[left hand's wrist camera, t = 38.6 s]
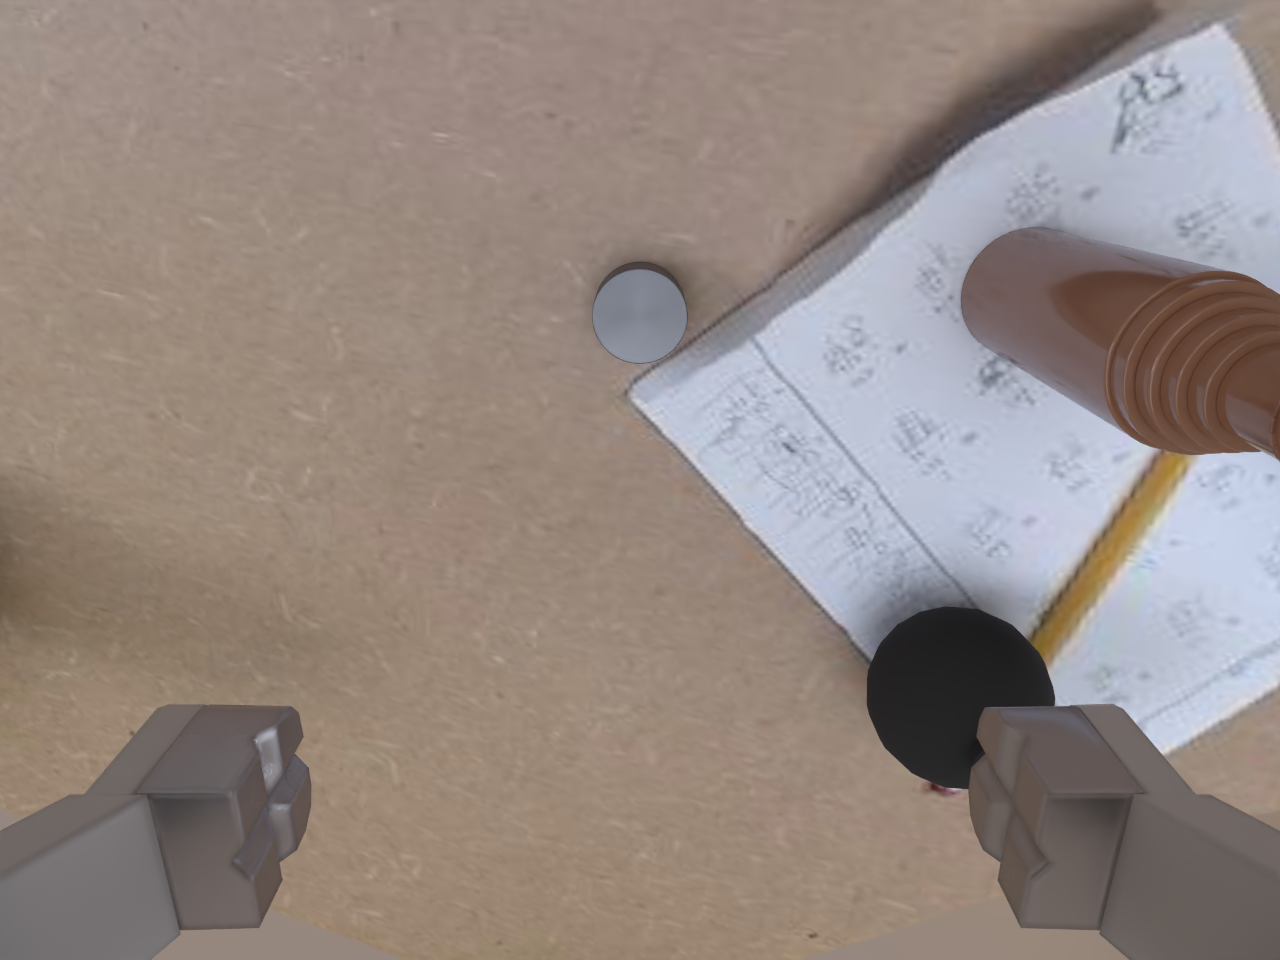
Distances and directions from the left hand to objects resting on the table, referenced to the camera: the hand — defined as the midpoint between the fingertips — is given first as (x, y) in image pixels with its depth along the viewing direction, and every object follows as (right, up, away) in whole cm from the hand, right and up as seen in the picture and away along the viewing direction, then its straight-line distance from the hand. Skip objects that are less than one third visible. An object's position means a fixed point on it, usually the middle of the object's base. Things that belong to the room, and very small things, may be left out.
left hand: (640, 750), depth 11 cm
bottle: (+16, +11, +27) cm, 33 cm away
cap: (0, +10, +26) cm, 28 cm away
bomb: (+14, -5, +33) cm, 36 cm away
